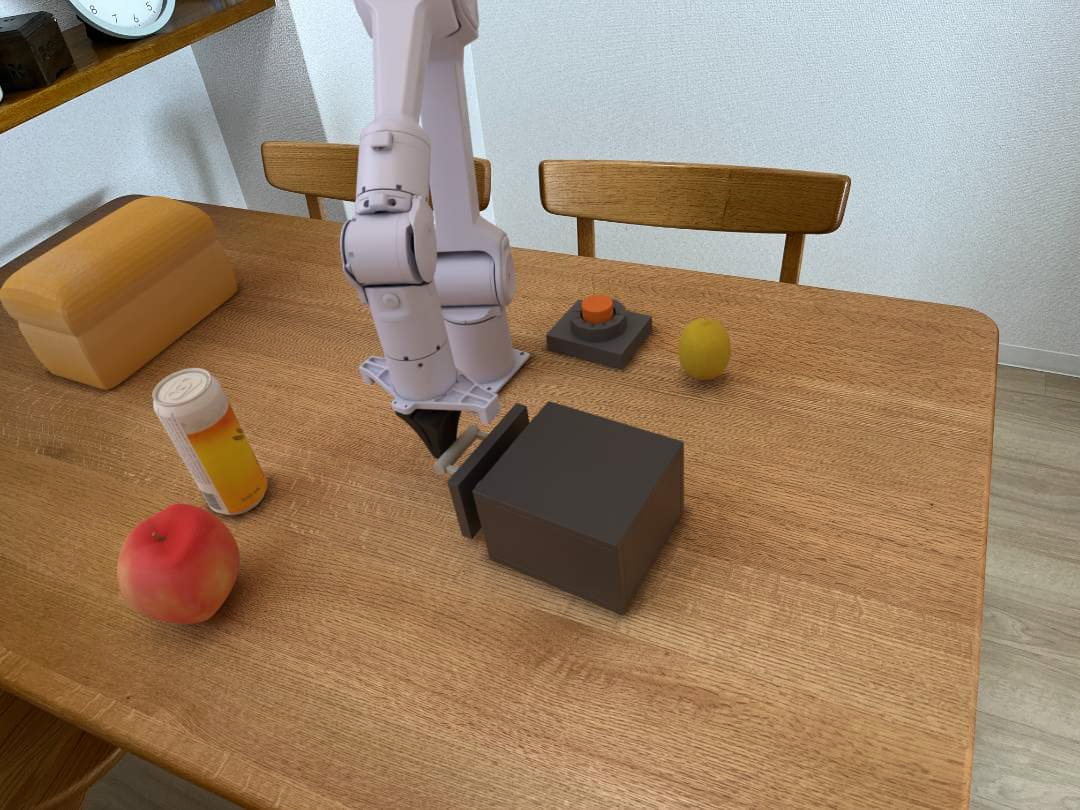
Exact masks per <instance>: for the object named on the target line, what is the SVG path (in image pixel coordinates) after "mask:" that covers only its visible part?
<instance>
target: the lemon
mask: <svg viewBox="0 0 1080 810" xmlns="http://www.w3.org/2000/svg"><path fill="white" fill-rule="evenodd" d="M677 350H678V353H677V354H678V355H677V356H678V360H679V364H680V365H681V368H682V370H683V371H684V372H685V373H686V374H687V375H688V376H690V377H691V378H693V379H695V380H699V381H710V380H713V379H715V378H718V377H720V376H721V375H722V373H724V371H726V369H727V367H728V365H729V363H730V361H731V354H732V343H731V340H730V336H729V333H728V331H727V329H726V328H725V326H724V325H723V324H722V323H720V322H719V321H718V320H715V319H714V318H709V317H702V318H697V319H695V320H693V321H691V322H690V323H688V324H687V325H686V326H685V328H684V329H683V330H682V333H681V335H680V337H679V341H678V349H677Z"/></svg>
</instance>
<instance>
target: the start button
mask: <svg viewBox="0 0 1080 810" xmlns="http://www.w3.org/2000/svg"><path fill="white" fill-rule="evenodd" d="M612 299H613V298H611V297H610V296H609V295H605V294H592V295H589V296H587V297H585V298H584V299H582V300H583V301H582V304H581V305H582V315H583V319H584V320H585V321H586V322H589V323H593V324H595V323H604V322H606V321H609V320H611V319H612V317H613V302H612Z"/></svg>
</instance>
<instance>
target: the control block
mask: <svg viewBox="0 0 1080 810" xmlns="http://www.w3.org/2000/svg"><path fill="white" fill-rule="evenodd" d="M611 299H612V302H613V317H612V319H611V320H609V321H606V322H604V323H595V324H593V323H589V322H586V321H585V320H584V319H583V315H582V305H581V304H582V301H583V300H584V299H579V298H578V299H577V300H576V301H575V303H573V304H572V306H571V307H569V309H568V310H567V311H566V312H565V313H564V314H563V315H562V316H561V317H560V319H558V321H556V323H555V324H554V325H553V326H552V327H551V329H549V331H548V332H546V334H545V339H546V347H547V350H548V351H552V352H556V353H559V354H564V355H566V356H571V357H574V358H578V359H582V360H586V361H589V362H592V363H597V364H600V365H604V366H607V367H612V368H616V369H619V370H624V369H625V367H626V366H627V365H628V364H629V362H630V360H632V358H633V357H634V356H635V354H636V353H637V352H638V351H639V349H640V348H641V347H642V345H643V344H644V343H645V342H646V341H647V339H648V337H650V335H651V334H652V333H653V316H652V315H648V314H643V313H639V312H636V311H632V310H626V305H624V303H622V302H620V301H619V300H618V299H615V298H611Z"/></svg>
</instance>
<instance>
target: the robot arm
mask: <svg viewBox="0 0 1080 810" xmlns="http://www.w3.org/2000/svg"><path fill="white" fill-rule="evenodd" d="M352 2H353V3H354V7H355V10H356V12H357V15H358V16H359V18H360V20H361V22H362V25H363V27H364V29H365V32H366V34H367V35H368V37H369V38H370V39H371V40H372V64H373V65H372V66H373V68H372V69H373V96H374V97H373V99H374V102H373V103H374V119H372V120H371V121H370V122H369V123H368V124H366V125H365V126H364V127H363V128H362V129H361V131H360V134H359V145H358V156H357V157H358V159H357V160H358V161H357V172H356V173H357V174H356V188H355V203H354V204H355V205H354V214H353V216H352V217H351V219H347V220H346V221H345V222H344V223H343V225H342V227H341V232H340V238H339V239H340V240H339V247H340V248H339V249H340V256H341V257H340V258H341V263H342V271H343V273H344V276H345V278H346V280H347V282H348V283H349V284H350V285H351V287H353V288H355V290H356V293H357V294H358V299H359V301H360V303H361V304H362V305H363V306H365V307H369V310H370V313H371V317H372V321H373V323H374V326H375V330H376V333H377V337H378V340H379V343H380V346H381V350H382V353H383V355H384V357H381V356H375V355H371V356H369V357H368V358H367V359H366V360H365V361H364V362H363V363H362V364H361V365H360V366H358V370H359V373H360V375H361V378H362V381H363V383H364V384H367V385H370V386H372V385H374V384H377V385H379V386H380V388H382V389H383V390H384V391H385V392H386V393H387V394H389V395H390V397H392V399H393V400H392V401H391V403H390V404H391V407H392V410H393V411H394V412H395V416H396V417H398V418H399V419H401V420H402V421H403V422H404V423H406V424H407V425H408V426H409V427H410V428H411V429H412V430H413V431H414V432H415V433H416V434H417V436H418V437H419V438H420V440H421V441H422V442H423V444H424V445H425V447H426V448H427V450H428V451H429V453H430V454H431V455H432V456H433V458H434V459H436V460H438V459H439V458H440V457H441V456H442V455H443V454H444V453H445V451H446V450H447V449H448V448H449V447H450V446H451V445H452V444H453V443H454V442H455V440H456V439H457V438H458V429H459V428H458V427H459V423H460V418H461V414H462V412H468V413H471V414H474V415H477V416H478V418H479V421H480V423H484V424H486V425H490V424H491V423H492V422H493V421H494V420H495V418H496V417H497V416H498V415H499V414H500V413H501V412H502V408H501V403H500V398H499V395H498V393H499V392H500V391H501V390H502V388H504V386H505V385H506V384H507V383H508V382H509V381H510V380H511V379H512V378H513V377H514V375H515V374H516V373H517V372H518V371H519V370H520V369H521V368H522V366H524V364H525V363H527V361H528V360H529V359H530V358H531V355H530V353H529V352H528V351H523V350H520V349H517V348H514V346H513V341H512V335H511V332H510V331H511V330H510V323H509V319H508V313H507V307H508V306H509V305H510V304H511V302H512V301H513V300H514V298H515V293H516V268H515V261H514V257H513V254H512V251H511V244H510V239H509V237H508V234H507V233H506V231H505V230H503V229H501V228H500V227H498V226H496V225H495V224H493V223H492V222H490V221H489V220H487V219H486V218H484V217H483V216H482V215H481V212H480V204H479V195H478V186H477V185H478V184H477V178H476V177H477V176H476V168H475V159H474V149H473V141H472V131H471V124H470V114H469V106H468V97H467V89H466V87H467V86H466V80H465V78H466V77H465V68H464V67H465V66H464V65H465V63H464V62H465V61H464V60H465V47H466V46H468V45H469V44H471V43H473V42H475V41H476V40H477V39H479V36H480V35H479V27H480V15H479V6H478V0H353V1H352ZM420 123H421V125H420ZM430 195H431V203H432V208H431V206H430V205H429V202H430V201H429V199H430Z"/></svg>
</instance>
